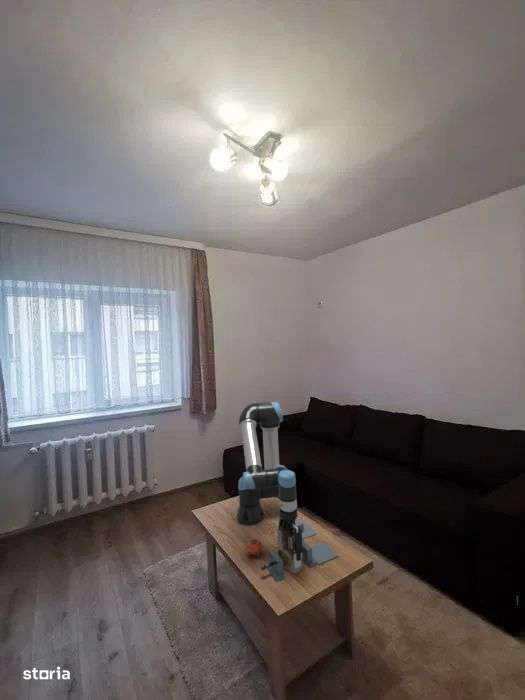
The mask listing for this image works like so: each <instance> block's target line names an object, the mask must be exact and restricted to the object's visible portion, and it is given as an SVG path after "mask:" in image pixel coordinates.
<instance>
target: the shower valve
mask: <svg viewBox="0 0 525 700" xmlns="http://www.w3.org/2000/svg"><path fill="white" fill-rule="evenodd" d="M295 524H296V526H297V527H298V526H299V527H300V529H302V539H303V540H305V539H308V538H312V537H313V536H316V535H317V532H316V531H315V529H313V528H312V527H311V526H310V525H309V524H308V523H307V522H305V521H304V520H301V519H296V520H295Z"/></svg>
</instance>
